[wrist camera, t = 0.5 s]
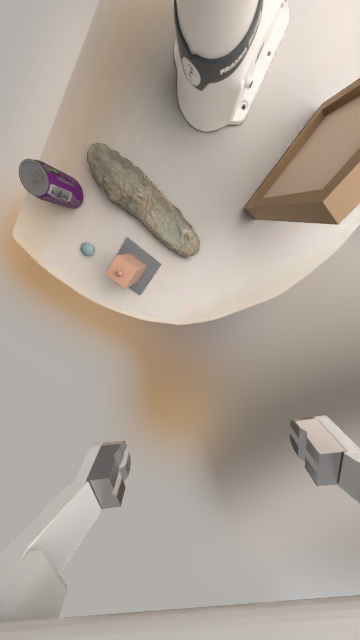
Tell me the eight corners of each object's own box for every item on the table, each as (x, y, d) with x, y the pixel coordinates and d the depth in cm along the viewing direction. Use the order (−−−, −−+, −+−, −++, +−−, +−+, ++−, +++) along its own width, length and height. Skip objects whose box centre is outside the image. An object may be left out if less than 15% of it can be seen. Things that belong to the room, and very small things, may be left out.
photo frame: (243, 208, 44) (292, 170, 21) (319, 107, 35) (536, -137, 13) (283, 245, 46) (366, 247, 24) (363, 159, 38) (610, 33, 15)
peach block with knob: (130, 253, 51) (113, 255, 41) (147, 266, 52) (134, 271, 42) (121, 269, 53) (103, 275, 43) (137, 282, 54) (123, 290, 44)
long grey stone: (185, 266, 53) (207, 238, 49) (185, 268, 48) (210, 238, 44) (83, 174, 44) (102, 134, 41) (70, 165, 39) (91, 119, 36)
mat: (127, 237, 49) (126, 237, 49) (161, 264, 51) (160, 264, 51) (109, 271, 54) (108, 271, 53) (140, 294, 56) (140, 295, 55)
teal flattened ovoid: (86, 240, 51) (83, 239, 50) (97, 248, 52) (94, 248, 50) (82, 250, 52) (78, 250, 51) (92, 258, 53) (89, 258, 52)
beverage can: (78, 174, 45) (39, 151, 34) (88, 205, 47) (55, 194, 36) (55, 181, 46) (9, 160, 35) (66, 211, 48) (27, 201, 38)
